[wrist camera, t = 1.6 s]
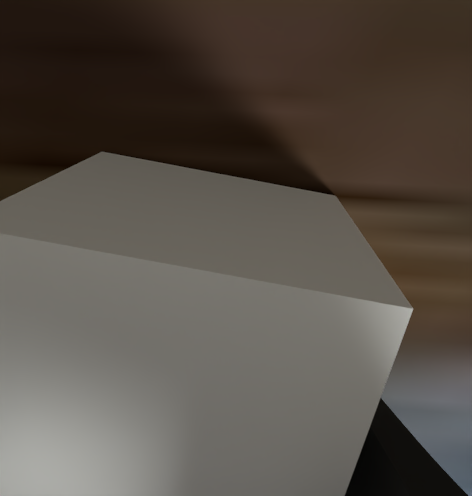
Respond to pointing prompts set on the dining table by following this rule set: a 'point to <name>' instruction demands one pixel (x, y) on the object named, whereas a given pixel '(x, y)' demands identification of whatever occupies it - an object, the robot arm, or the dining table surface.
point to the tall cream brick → (186, 335)
